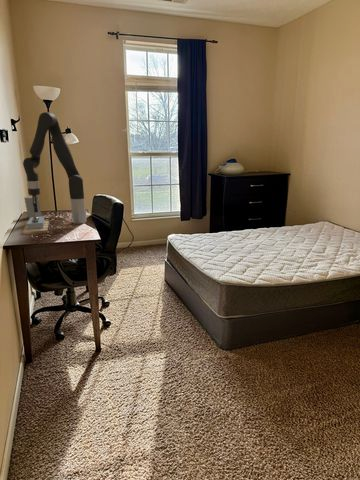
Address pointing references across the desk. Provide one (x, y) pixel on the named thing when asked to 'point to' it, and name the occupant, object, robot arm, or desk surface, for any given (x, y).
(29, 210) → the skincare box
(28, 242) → the desk surface
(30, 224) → the panel
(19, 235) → the desk surface
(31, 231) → the board
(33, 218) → the bosses
